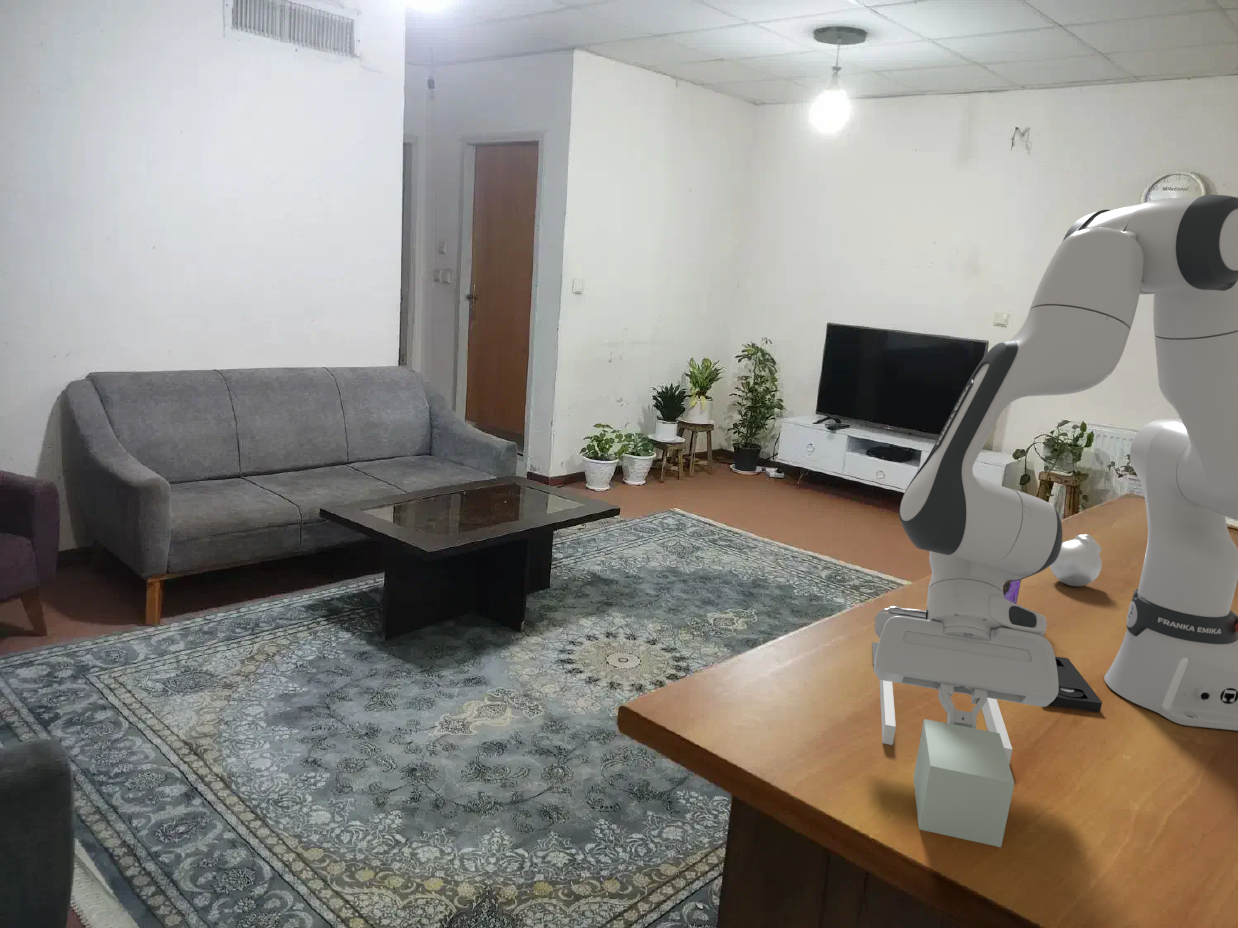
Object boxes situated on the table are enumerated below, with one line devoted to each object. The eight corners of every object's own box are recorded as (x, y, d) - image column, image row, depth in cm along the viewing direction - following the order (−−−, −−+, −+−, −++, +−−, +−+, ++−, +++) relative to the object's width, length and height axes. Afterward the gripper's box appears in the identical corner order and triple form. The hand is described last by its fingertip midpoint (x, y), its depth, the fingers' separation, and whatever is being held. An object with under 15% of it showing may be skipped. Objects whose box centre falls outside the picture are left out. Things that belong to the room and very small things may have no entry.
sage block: (987, 793, 100) (999, 733, 98) (1000, 848, 90) (1014, 782, 88) (913, 777, 102) (923, 718, 100) (918, 830, 92) (930, 765, 90)
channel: (982, 662, 133) (985, 647, 132) (1015, 769, 105) (1019, 750, 104) (872, 643, 137) (874, 628, 136) (875, 741, 108) (878, 723, 108)
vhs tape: (1100, 716, 121) (1103, 703, 120) (1039, 707, 122) (1042, 694, 121) (1065, 669, 134) (1067, 657, 134) (1010, 662, 135) (1013, 650, 135)
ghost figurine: (1108, 595, 167) (1120, 544, 165) (1058, 591, 167) (1069, 540, 165) (1085, 578, 176) (1095, 529, 173) (1037, 574, 176) (1047, 525, 173)
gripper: (879, 593, 108) (870, 703, 101) (1061, 619, 104) (1064, 737, 97) (874, 613, 114) (865, 720, 107) (1046, 639, 109) (1049, 752, 102)
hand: (961, 728), depth 102 cm, fingers closed
